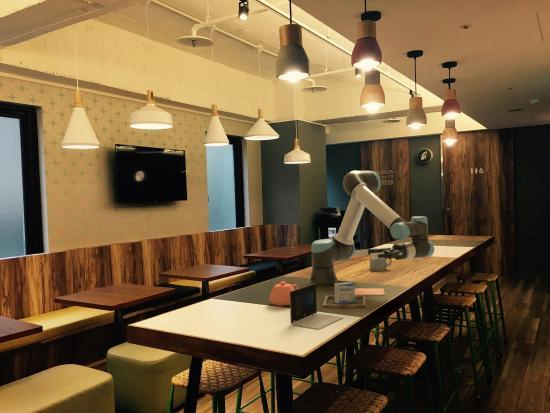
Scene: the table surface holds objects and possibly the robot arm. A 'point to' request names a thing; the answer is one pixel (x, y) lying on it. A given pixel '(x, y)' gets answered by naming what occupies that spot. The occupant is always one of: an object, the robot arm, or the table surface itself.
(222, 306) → the table surface
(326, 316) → the laptop
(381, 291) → the terracotta mat
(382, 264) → the coffee mug
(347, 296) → the medicine box
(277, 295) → the sugar bowl
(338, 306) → the walnut frame
